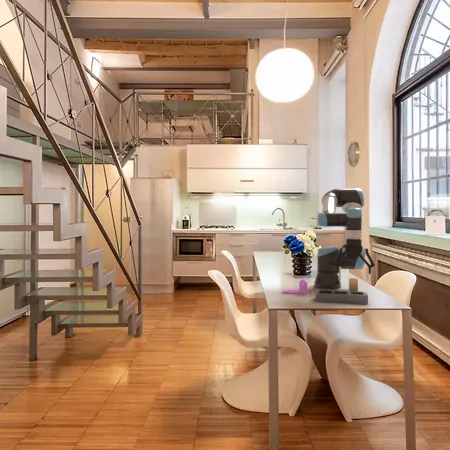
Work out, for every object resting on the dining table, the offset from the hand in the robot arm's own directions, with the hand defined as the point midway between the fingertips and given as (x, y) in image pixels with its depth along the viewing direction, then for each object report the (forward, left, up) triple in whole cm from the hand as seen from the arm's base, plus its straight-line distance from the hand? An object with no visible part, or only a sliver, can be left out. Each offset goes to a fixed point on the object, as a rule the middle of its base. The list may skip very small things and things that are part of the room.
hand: (353, 279), depth 203 cm
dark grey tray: (+12, -7, -9) cm, 16 cm away
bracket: (-3, -30, -9) cm, 31 cm away
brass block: (0, 0, -9) cm, 9 cm away
